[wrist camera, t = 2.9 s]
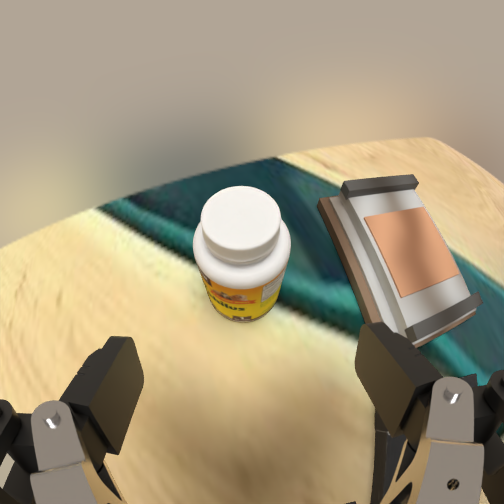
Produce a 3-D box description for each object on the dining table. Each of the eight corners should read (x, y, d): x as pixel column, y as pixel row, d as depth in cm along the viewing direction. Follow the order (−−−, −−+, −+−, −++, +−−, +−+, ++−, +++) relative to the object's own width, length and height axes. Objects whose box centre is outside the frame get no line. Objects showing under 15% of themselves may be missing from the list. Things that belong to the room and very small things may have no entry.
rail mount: (406, 193, 28) (419, 169, 25) (468, 317, 21) (493, 303, 17) (317, 206, 27) (325, 178, 23) (379, 364, 19) (403, 356, 16)
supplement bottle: (195, 292, 22) (161, 216, 13) (242, 249, 24) (239, 160, 15) (245, 339, 20) (242, 289, 11) (291, 290, 22) (319, 212, 14)
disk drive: (369, 397, 18) (361, 541, 11) (384, 396, 16) (373, 553, 8) (459, 376, 18) (453, 505, 11) (477, 370, 16) (469, 509, 9)
